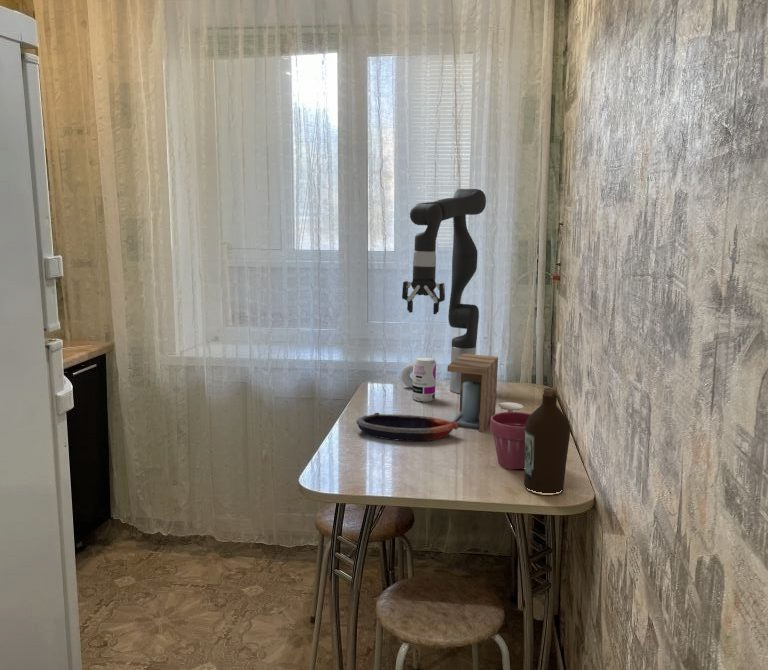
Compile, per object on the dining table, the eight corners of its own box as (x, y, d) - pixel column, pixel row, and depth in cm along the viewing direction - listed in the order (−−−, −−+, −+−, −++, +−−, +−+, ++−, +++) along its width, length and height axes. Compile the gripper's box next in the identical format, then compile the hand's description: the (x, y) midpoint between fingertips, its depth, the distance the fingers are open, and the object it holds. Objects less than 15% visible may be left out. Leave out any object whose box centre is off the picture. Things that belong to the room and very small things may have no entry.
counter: (460, 410, 235) (462, 353, 231) (495, 414, 231) (498, 356, 227) (445, 427, 215) (447, 365, 212) (482, 432, 211) (486, 369, 208)
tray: (461, 414, 230) (461, 410, 230) (488, 417, 227) (488, 413, 227) (451, 425, 217) (451, 422, 217) (479, 429, 214) (479, 425, 214)
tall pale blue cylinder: (463, 416, 225) (465, 380, 223) (480, 418, 224) (482, 382, 222) (459, 420, 220) (461, 384, 218) (476, 423, 218) (478, 386, 216)
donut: (427, 388, 264) (428, 362, 262) (425, 390, 260) (426, 364, 259) (401, 386, 266) (402, 361, 264) (399, 388, 263) (400, 362, 261)
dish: (361, 424, 217) (361, 409, 216) (458, 431, 212) (459, 415, 212) (351, 439, 202) (351, 423, 201) (455, 447, 197) (456, 430, 197)
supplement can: (435, 397, 251) (436, 357, 249) (434, 403, 243) (436, 361, 241) (412, 395, 252) (414, 356, 249) (411, 401, 244) (412, 360, 241)
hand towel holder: (499, 420, 210) (482, 402, 230) (498, 434, 211) (482, 415, 231) (552, 420, 212) (531, 401, 232) (551, 433, 213) (530, 414, 233)
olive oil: (559, 480, 173) (566, 384, 169) (570, 497, 163) (578, 396, 159) (517, 479, 173) (523, 383, 169) (526, 496, 163) (532, 394, 159)
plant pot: (478, 464, 183) (480, 418, 181) (505, 451, 194) (507, 408, 192) (525, 478, 174) (528, 430, 172) (551, 464, 185) (554, 418, 183)
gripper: (448, 265, 228) (446, 313, 231) (407, 263, 233) (405, 310, 236) (442, 266, 221) (440, 316, 224) (400, 264, 226) (399, 313, 229)
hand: (422, 313), depth 230 cm, fingers open, 8 cm apart
